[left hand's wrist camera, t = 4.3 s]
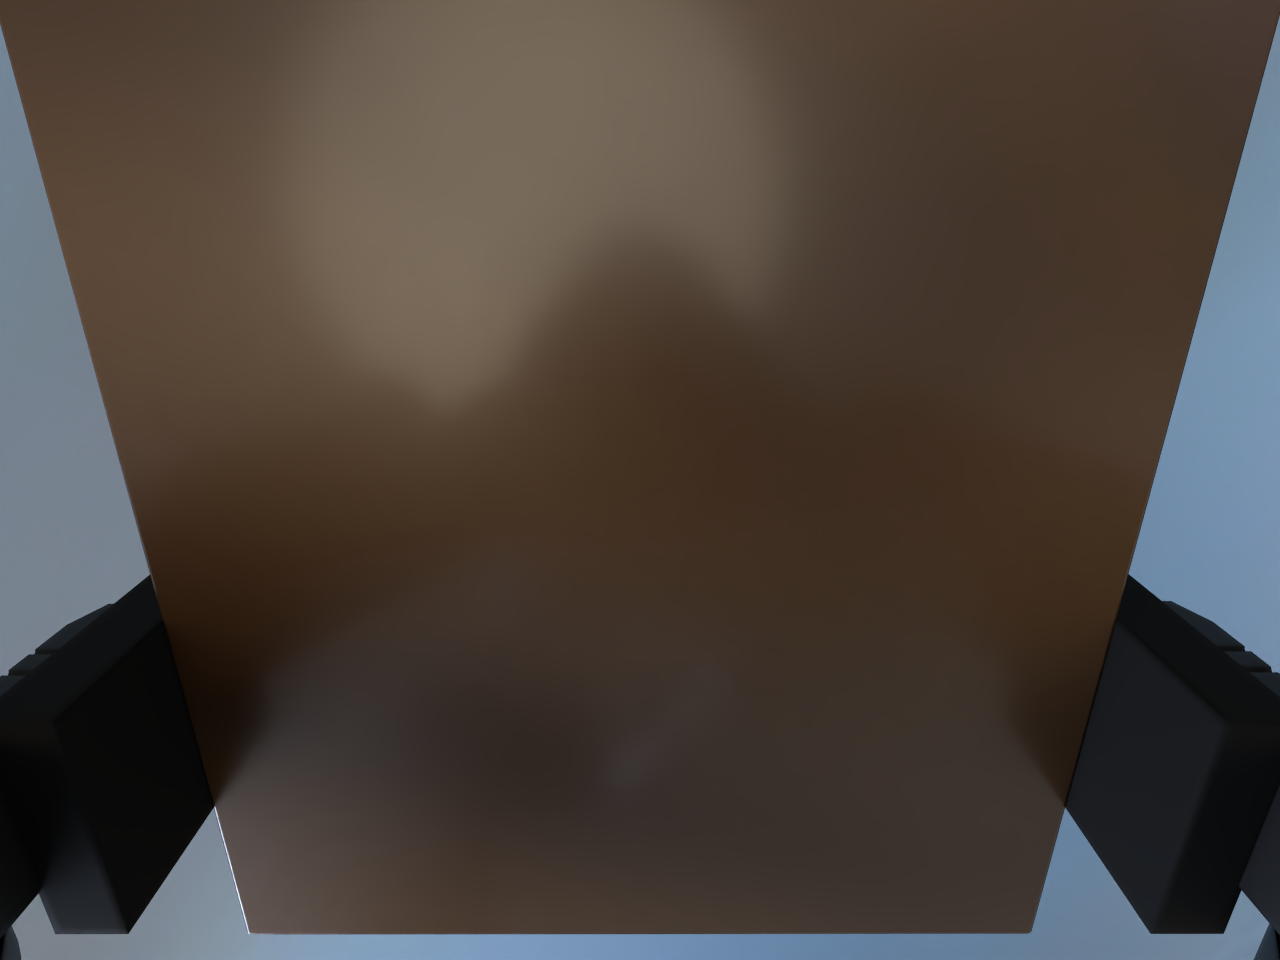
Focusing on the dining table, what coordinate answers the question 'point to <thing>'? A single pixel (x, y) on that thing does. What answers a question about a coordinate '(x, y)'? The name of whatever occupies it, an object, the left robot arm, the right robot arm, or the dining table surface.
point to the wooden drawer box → (639, 428)
